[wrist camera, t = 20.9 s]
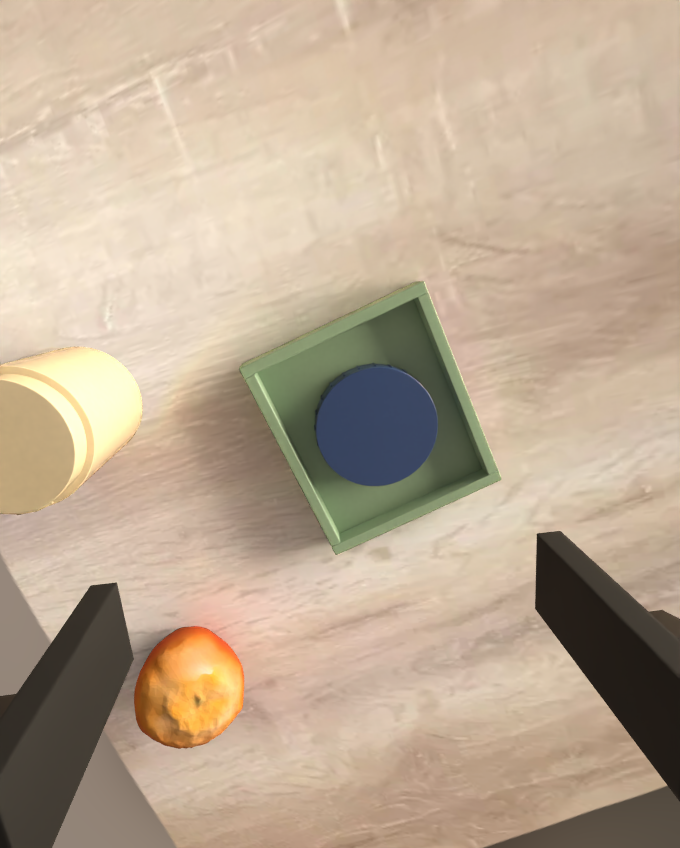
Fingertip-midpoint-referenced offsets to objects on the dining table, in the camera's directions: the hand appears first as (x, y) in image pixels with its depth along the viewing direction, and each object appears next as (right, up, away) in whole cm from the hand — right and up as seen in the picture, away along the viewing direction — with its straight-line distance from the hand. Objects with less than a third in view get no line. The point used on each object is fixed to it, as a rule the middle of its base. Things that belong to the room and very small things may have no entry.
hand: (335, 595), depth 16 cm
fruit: (-12, -14, +26) cm, 32 cm away
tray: (+3, +6, +22) cm, 23 cm away
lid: (+3, +5, +20) cm, 21 cm away
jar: (-18, +7, +20) cm, 28 cm away
